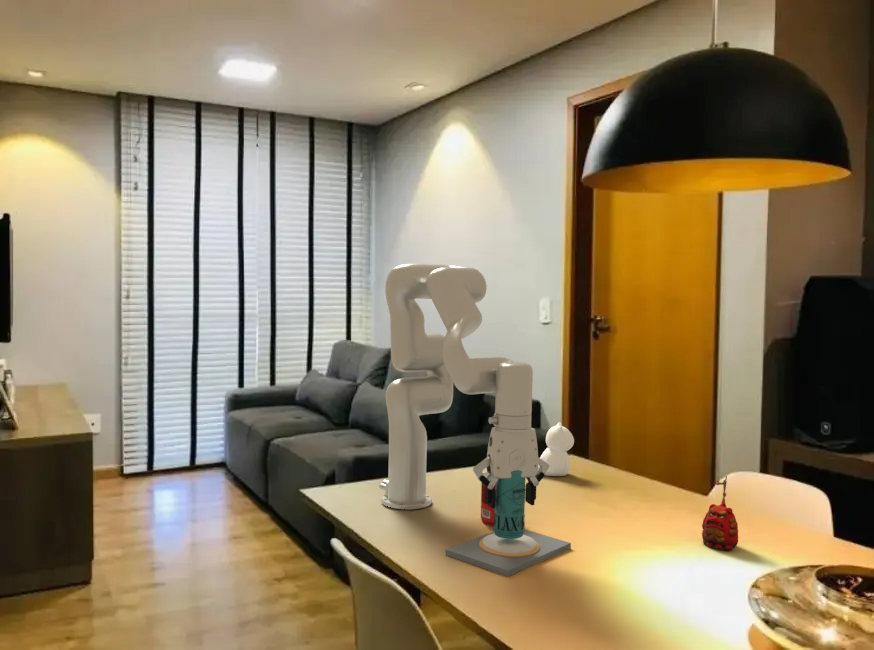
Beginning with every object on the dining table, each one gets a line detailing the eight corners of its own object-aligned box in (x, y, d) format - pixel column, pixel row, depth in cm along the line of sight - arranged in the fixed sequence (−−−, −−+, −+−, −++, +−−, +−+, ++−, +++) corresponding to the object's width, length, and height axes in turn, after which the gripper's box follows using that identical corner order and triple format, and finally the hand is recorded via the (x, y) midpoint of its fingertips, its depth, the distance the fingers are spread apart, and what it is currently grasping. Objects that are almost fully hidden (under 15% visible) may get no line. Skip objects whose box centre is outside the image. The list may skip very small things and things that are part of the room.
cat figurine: (573, 479, 221) (575, 427, 220) (529, 477, 222) (531, 425, 221) (571, 471, 230) (573, 421, 229) (529, 469, 231) (531, 419, 230)
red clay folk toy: (696, 545, 168) (699, 477, 167) (709, 537, 173) (712, 472, 172) (731, 554, 163) (735, 484, 162) (743, 546, 168) (746, 478, 167)
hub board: (445, 554, 159) (445, 544, 159) (510, 530, 175) (510, 520, 175) (507, 576, 148) (508, 565, 148) (570, 548, 164) (571, 538, 164)
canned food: (512, 528, 177) (514, 480, 176) (478, 525, 178) (479, 478, 178) (516, 518, 184) (517, 472, 184) (482, 515, 186) (484, 470, 185)
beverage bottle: (487, 541, 161) (489, 446, 159) (504, 533, 166) (506, 441, 165) (513, 549, 157) (516, 452, 155) (530, 540, 162) (533, 446, 161)
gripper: (479, 427, 154) (477, 513, 155) (559, 423, 159) (556, 507, 160) (467, 420, 161) (465, 502, 162) (543, 417, 166) (540, 497, 167)
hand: (510, 504), depth 161 cm, fingers open, 8 cm apart
